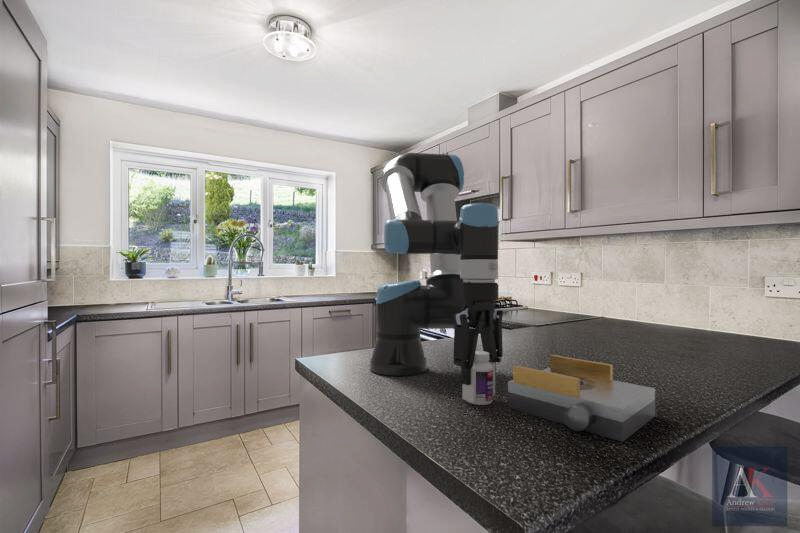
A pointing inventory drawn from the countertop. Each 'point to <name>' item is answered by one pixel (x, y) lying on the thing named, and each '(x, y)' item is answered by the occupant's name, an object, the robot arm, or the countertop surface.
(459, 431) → the countertop surface
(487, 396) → the pill bottle
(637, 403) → the grey clamp fixture
